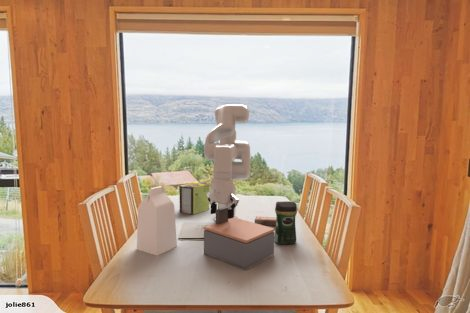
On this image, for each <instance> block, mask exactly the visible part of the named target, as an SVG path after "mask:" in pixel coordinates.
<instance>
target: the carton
mask: <svg viewBox="0 0 470 313" xmlns="http://www.w3.org/2000/svg"><path fill="white" fill-rule="evenodd" d="M274 237H275V231H274V232H271V233H269V234H267V235H264V236H262V237H260V238H257V239H255V240H253V241H250V242H248V243H244V242H241V241H238V240H235V239H232V238H229V237H226V236H223V235H220V234H217V233H214V232H211V231H208V230H205V229H203V254H204V255H205V256H208V257H210V258H213V259H216V260H217V261H218V260H219V261H221V262H224V263H226V264H229V265H231V266H233V267H237V268H239V269H241V270H244V271H248V270H250V269H251V268H253V267H255V266H257V265H259V264H260V263H262V262H265V261H266V260H268V259H271V258H272V257H274V255H275V240H274Z"/></svg>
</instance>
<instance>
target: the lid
mask: <svg viewBox="0 0 470 313" xmlns="http://www.w3.org/2000/svg"><path fill="white" fill-rule="evenodd" d="M215 217H216V221H215V222H214V223H212V224H208V225H205V226H203V230H208V231H211V232H214V233H217V234H220V235H223V236H226V237H229V238H232V239H235V240H238V241H241V242H244V243H248V242H250V241H253V240H255V239H257V238H260V237H262V236H264V235H267V234H269V233H271V232H275V229H274V228H271V227H267V226H263V225H260V224H256V223H255V222H254V221H253V222H252V221H248V220H245V219H241V218H239V217H238V218H235V217H233V218H231V219H228V207H223V208H220V209H218V208H217V209H216V214H215Z"/></svg>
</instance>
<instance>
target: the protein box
mask: <svg viewBox="0 0 470 313" xmlns="http://www.w3.org/2000/svg"><path fill="white" fill-rule="evenodd" d="M210 187H211V183H209V182H208V183H207V182H202V181H193V182H189V183H185V184H181V185H179V212H180V213H184V214H188V215H192V216H194V215H196V214H199V213H202V212H204V211H208V210H210V202H209V200H208V197H207V193H208V192H210Z"/></svg>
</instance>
